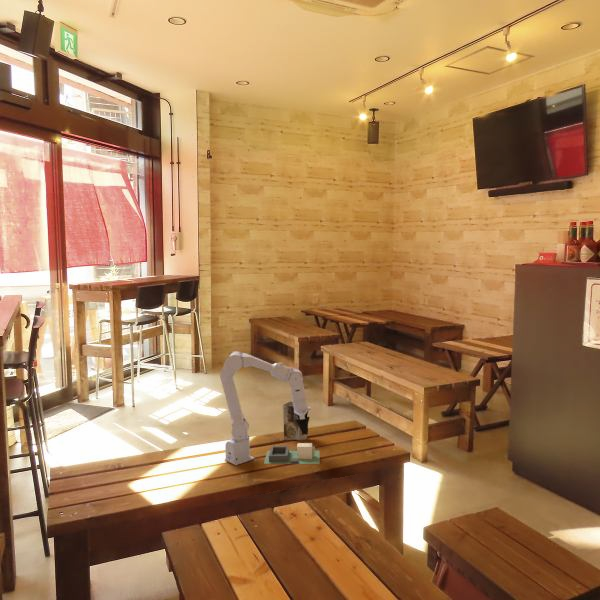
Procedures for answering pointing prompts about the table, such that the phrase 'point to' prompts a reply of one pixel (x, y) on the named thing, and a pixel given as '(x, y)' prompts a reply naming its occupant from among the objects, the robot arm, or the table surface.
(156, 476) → the table surface
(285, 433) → the coffee box
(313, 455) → the plug
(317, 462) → the board
